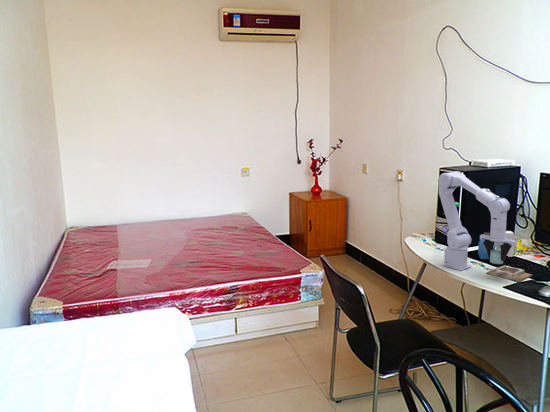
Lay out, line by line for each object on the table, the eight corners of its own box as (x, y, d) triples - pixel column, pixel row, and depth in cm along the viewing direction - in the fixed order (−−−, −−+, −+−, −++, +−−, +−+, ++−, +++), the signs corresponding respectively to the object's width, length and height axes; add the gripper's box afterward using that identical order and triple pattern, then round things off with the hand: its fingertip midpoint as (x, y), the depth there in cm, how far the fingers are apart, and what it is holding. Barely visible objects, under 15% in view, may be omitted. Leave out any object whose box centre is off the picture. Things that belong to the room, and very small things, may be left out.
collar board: (486, 273, 191) (486, 268, 191) (499, 267, 197) (499, 263, 197) (519, 282, 180) (519, 277, 179) (532, 275, 186) (532, 270, 186)
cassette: (517, 252, 218) (518, 237, 217) (515, 252, 217) (515, 237, 216) (495, 246, 229) (496, 232, 227) (493, 247, 228) (493, 233, 226)
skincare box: (509, 254, 215) (510, 230, 213) (513, 257, 211) (514, 233, 209) (496, 254, 216) (497, 231, 213) (500, 257, 212) (501, 233, 209)
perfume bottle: (480, 258, 211) (481, 234, 208) (477, 255, 217) (478, 231, 214) (494, 259, 209) (495, 235, 207) (491, 255, 215) (492, 231, 213)
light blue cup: (487, 262, 185) (488, 250, 184) (493, 259, 188) (494, 248, 187) (499, 264, 181) (499, 253, 180) (505, 262, 184) (506, 250, 183)
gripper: (476, 226, 185) (475, 257, 188) (510, 232, 174) (509, 265, 176) (485, 223, 189) (484, 253, 192) (519, 229, 178) (517, 261, 180)
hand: (496, 258), depth 184 cm, fingers closed on light blue cup, 5 cm apart
